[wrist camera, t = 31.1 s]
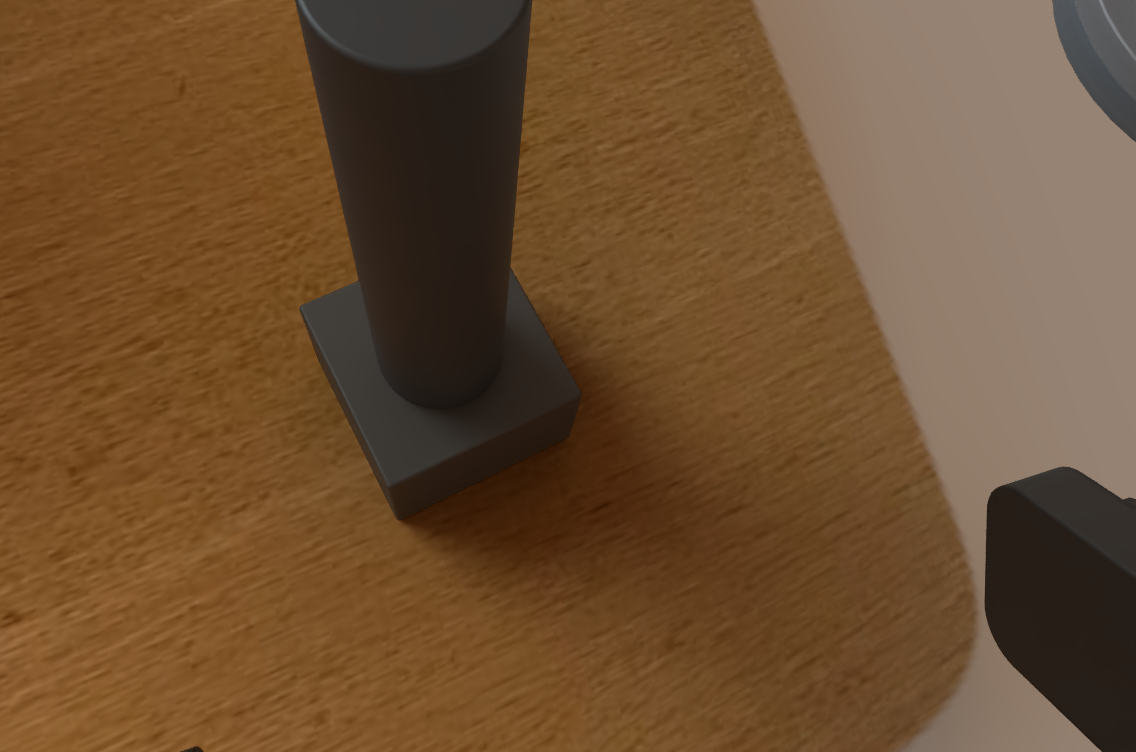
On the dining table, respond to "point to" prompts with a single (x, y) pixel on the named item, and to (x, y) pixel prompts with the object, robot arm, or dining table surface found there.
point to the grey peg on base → (431, 243)
